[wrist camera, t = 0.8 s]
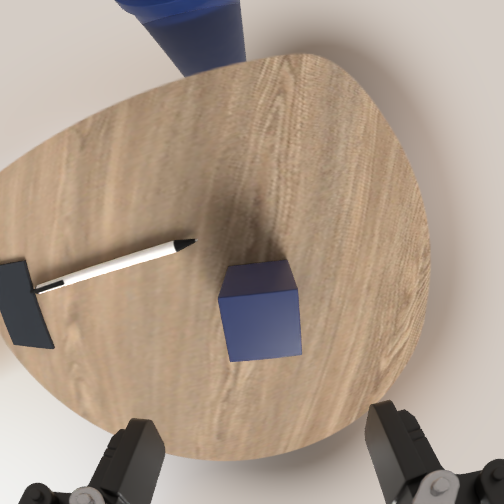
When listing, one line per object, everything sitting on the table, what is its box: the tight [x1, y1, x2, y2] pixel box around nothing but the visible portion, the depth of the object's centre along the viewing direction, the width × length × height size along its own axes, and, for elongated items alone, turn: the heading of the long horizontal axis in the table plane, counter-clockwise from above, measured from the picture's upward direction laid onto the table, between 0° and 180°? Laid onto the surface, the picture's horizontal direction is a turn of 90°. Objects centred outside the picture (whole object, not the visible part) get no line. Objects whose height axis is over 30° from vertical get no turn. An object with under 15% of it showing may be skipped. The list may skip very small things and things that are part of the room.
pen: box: [30, 239, 198, 294], centre depth 22 cm, size 1×19×1 cm, turn 106°
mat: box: [0, 260, 55, 349], centre depth 23 cm, size 10×8×1 cm
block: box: [218, 260, 302, 362], centre depth 19 cm, size 4×4×6 cm
